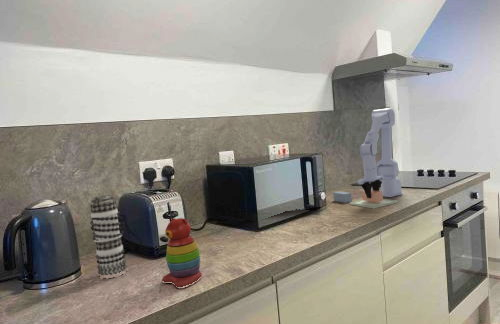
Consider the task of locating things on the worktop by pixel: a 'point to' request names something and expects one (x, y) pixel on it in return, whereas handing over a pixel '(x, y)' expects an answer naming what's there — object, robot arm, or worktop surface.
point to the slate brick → (342, 197)
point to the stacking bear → (181, 254)
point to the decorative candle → (107, 235)
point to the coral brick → (373, 196)
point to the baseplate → (373, 203)
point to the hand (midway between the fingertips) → (372, 197)
